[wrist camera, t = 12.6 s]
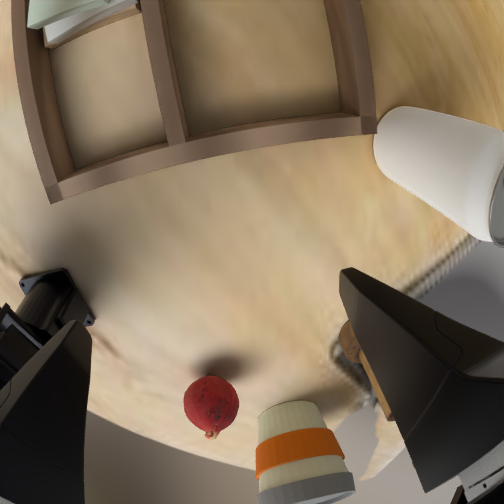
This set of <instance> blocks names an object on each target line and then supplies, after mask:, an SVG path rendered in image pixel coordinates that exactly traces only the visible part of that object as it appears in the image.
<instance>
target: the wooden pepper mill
mask: <svg viewBox="0 0 504 504" xmlns="http://www.w3.org/2000/svg"><path fill="white" fill-rule="evenodd" d="M339 342H340V345H341V347H342V349H343V351H344V354H345V356H346V358H347V359H348V360H349V361H351V362H354V363H361V364H363V366H364V369H365V371H366V373H367V375H368V377H369V380H370V382H371V384H372V386H373V388H374V391H375V393H376V395H377V398H378V400H379V402H380V405H381V407H382V409H383V412H384V414H385V417H386V419H387V421H395V419H394V417H393V415H392V412H391V410H390V408H389V406H388V404H387V401H386V399H385V397H384V395H383V393H382V391H381V388H380V386H379V384H378V382H377V380H376V378H375V376H374V374H373V372H372V369H371V367H370V365H369V363H368V361H367V359H366V357H365V355H364V353H363V351H362V349H361V347H360V345H359V343H358V341H357V339H356V337H355V335H354V332H353V329H352V327H351V324H350V321H348V322H347V323H346V324H345V325H344V326H343V327H342V329H341V331H340V334H339ZM412 464H413V462H412ZM413 466H414V464H413ZM414 468H415V467H414Z"/></svg>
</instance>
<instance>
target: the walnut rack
mask: <svg viewBox="0 0 504 504" xmlns="http://www.w3.org/2000/svg"><path fill="white" fill-rule="evenodd" d="M29 3H30V0H11V15H12V38H13V50H14V60H15V68H16V75H17V82H18V88H19V94H20V99H21V104H22V109H23V114H24V118H25V123H26V127H27V131H28V135H29V139H30V142H31V146H32V150H33V153H34V157H35V160H36V163H37V167H38V170H39V173H40V176H41V179H42V182H43V185H44V188H45V190H46V193H47V196H48V199H49V201H50V204H53V203H55V202H58V201H61V200H63V199H66V198H69V197H72V196H74V195H77V194H80V193H83V192H86V191H89V190H92V189H95V188H98V187H101V186H104V185H107V184H111V183H114V182H117V181H120V180H124V179H127V178H130V177H134V176H137V175H141V174H145V173H148V172H152V171H156V170H159V169H163V168H167V167H171V166H175V165H179V164H183V163H187V162H192V161H196V160H200V159H205V158H210V157H214V156H219V155H224V154H229V153H234V152H239V151H244V150H250V149H256V148H261V147H267V146H273V145H280V144H286V143H293V142H301V141H308V140H316V139H325V138H334V137H344V136H354V135H367V134H377V118H376V105H375V94H374V84H373V75H372V67H371V60H370V53H369V46H368V40H367V34H366V29H365V23H364V18H363V13H362V9H361V4H360V0H324V5H325V9H326V14H327V19H328V24H329V30H330V35H331V41H332V47H333V53H334V59H335V66H336V73H337V80H338V88H339V96H340V105H341V113H329V114H318V115H308V116H299V117H290V118H283V119H275V120H269V121H262V122H256V123H250V124H244V125H238V126H233V127H228V128H222V129H217V130H213V131H208V132H203V133H199V134H194V135H189V130H188V126H187V121H186V117H185V112H184V107H183V102H182V98H181V93H180V88H179V83H178V78H177V73H176V68H175V63H174V58H173V52H172V47H171V42H170V36H169V31H168V25H167V19H166V14H165V8H164V2H163V0H140V4H141V10H142V17H143V23H144V29H145V35H146V40H147V46H148V51H149V57H150V62H151V67H152V72H153V77H154V82H155V87H156V91H157V96H158V101H159V105H160V110H161V114H162V119H163V123H164V128H165V132H166V136H167V140H168V141H166V142H162V143H159V144H155V145H151V146H148V147H144V148H141V149H137V150H134V151H131V152H128V153H124V154H121V155H118V156H115V157H112V158H109V159H106V160H103V161H100V162H97V163H94V164H92V165H89V166H86V167H83V168H81V169H78V170H75V167H74V164H73V160H72V157H71V154H70V150H69V147H68V143H67V139H66V136H65V132H64V128H63V124H62V120H61V116H60V111H59V107H58V102H57V98H56V93H55V88H54V82H53V77H52V71H51V65H50V58H49V51H48V48H46V47H45V44H44V35H43V27H42V28H40V29H38V30H37V29H32V28H28V27H27V23H28V12H29Z"/></svg>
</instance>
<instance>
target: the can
mask: <svg viewBox="0 0 504 504" xmlns="http://www.w3.org/2000/svg"><path fill="white" fill-rule="evenodd" d="M373 149H374V156H375V160H376V162H377V165H378V167H379V168H380V170H381V171H382V173H383V174H384V175H385V176H386V177H388V178H389V179H391V180H392V181H394V182H395V183H397V184H398V185H400V186H401V187H403V188H405V189H406V190H408V191H409V192H411V193H412V194H414V195H415V196H417V197H419V198H420V199H422V200H423V201H425V202H426V203H427V204H429V205H430V206H432V207H433V208H435V209H436V210H438V211H439V212H441V213H442V214H443V215H445V216H446V217H448V218H449V219H450V220H452V221H453V222H455V223H456V224H457V225H459V226H460V227H461V228H463V229H464V230H465V231H467V232H468V233H470V234H471V235H472V236H474V237H476V238H477V239H479V240H482V241H490V242H494V244H495V245H496V246H498V247H501V248H504V131H502V130H499V129H496V128H493V127H490V126H487V125H484V124H481V123H478V122H475V121H471V120H468V119H464V118H460V117H457V116H453V115H449V114H444V113H440V112H436V111H431V110H426V109H421V108H416V107H410V106H401V107H397V108H394V109H392V110H391V111H389V112H388V113H387V114H386V115H385V116H384V117H383V118H382V119H381V121H380V122H379V124H378V126H377V134H375V135H374V142H373Z"/></svg>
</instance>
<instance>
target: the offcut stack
mask: <svg viewBox="0 0 504 504" xmlns="http://www.w3.org/2000/svg"><path fill="white" fill-rule="evenodd" d="M138 13H141V10H140V4H139V0H30V3H29V12H28V23H27V27H28V28H32V29H37V30H38V29H40V28H42V27H43V35H44V44H45V47H46V48H52V49H55V48H57V47H59V46H61V45H63V44H65V43H67V42H69V41H71V40H73V39H75V38H77V37H79V36H81V35H83V34H86V33H88V32H90V31H93V30H95V29H97V28H100V27H102V26H105V25H107V24H110V23H112V22H115V21H118V20H121V19H123V18H126V17H129V16H132V15H135V14H138Z"/></svg>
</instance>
